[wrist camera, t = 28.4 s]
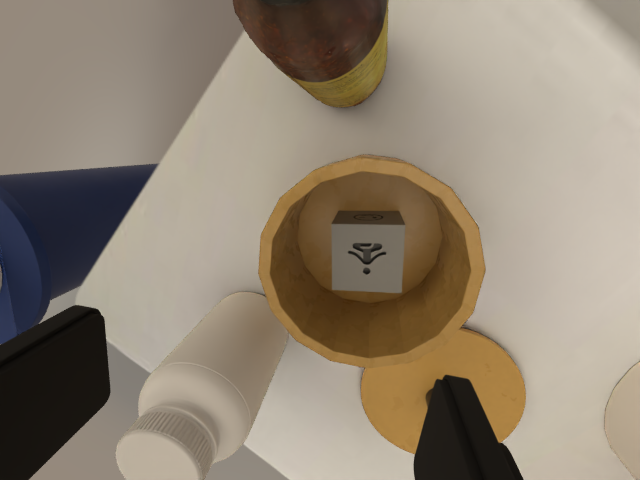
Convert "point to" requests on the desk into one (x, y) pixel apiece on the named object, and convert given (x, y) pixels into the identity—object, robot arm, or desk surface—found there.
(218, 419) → the pill bottle
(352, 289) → the dice cube
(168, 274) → the desk surface
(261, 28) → the sauce bottle
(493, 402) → the tan wooden disc
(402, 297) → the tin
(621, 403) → the cylinder
